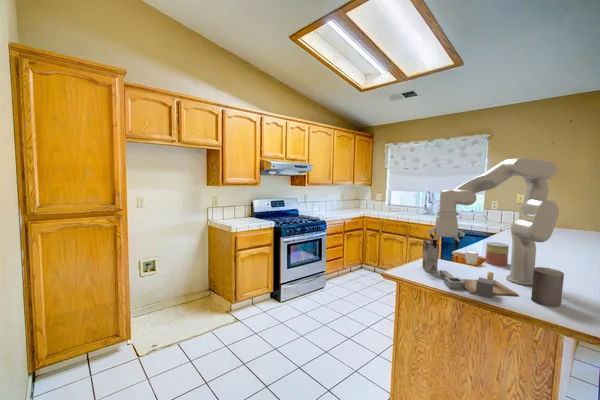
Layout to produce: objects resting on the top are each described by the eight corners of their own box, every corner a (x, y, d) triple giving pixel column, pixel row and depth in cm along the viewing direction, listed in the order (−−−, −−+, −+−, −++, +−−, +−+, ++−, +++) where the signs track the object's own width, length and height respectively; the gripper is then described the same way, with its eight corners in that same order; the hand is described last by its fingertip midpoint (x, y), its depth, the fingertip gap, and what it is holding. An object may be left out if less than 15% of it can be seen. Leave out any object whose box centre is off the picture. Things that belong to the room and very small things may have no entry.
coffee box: (421, 266, 166) (422, 239, 165) (433, 267, 165) (434, 240, 164) (425, 271, 157) (426, 243, 156) (437, 272, 156) (439, 243, 155)
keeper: (478, 289, 132) (479, 277, 132) (494, 293, 128) (495, 280, 128) (475, 294, 127) (476, 281, 126) (491, 298, 123) (492, 284, 123)
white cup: (462, 261, 177) (462, 250, 177) (472, 261, 178) (473, 250, 177) (469, 264, 170) (470, 253, 170) (480, 264, 171) (481, 253, 170)
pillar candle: (525, 297, 124) (527, 264, 122) (545, 297, 124) (548, 263, 123) (545, 308, 114) (549, 272, 113) (568, 307, 115) (571, 271, 113)
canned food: (508, 267, 166) (509, 247, 165) (485, 264, 172) (486, 244, 171) (507, 262, 175) (508, 243, 174) (485, 259, 181) (486, 241, 180)
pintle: (491, 282, 140) (491, 272, 139) (493, 283, 137) (494, 273, 137) (486, 281, 140) (486, 272, 140) (488, 283, 138) (489, 273, 137)
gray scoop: (465, 289, 132) (465, 282, 132) (449, 288, 133) (450, 282, 133) (449, 276, 150) (449, 270, 149) (436, 276, 150) (436, 270, 150)
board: (495, 282, 142) (496, 280, 142) (518, 296, 125) (518, 294, 125) (454, 280, 144) (454, 278, 144) (470, 293, 127) (470, 292, 127)
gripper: (463, 214, 144) (461, 247, 145) (427, 212, 147) (425, 245, 149) (469, 216, 137) (466, 251, 138) (430, 214, 140) (428, 248, 142)
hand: (445, 247), depth 143 cm, fingers open, 9 cm apart
